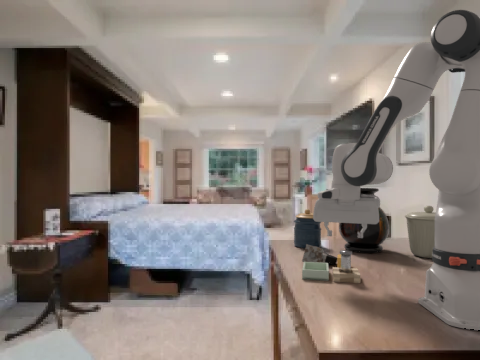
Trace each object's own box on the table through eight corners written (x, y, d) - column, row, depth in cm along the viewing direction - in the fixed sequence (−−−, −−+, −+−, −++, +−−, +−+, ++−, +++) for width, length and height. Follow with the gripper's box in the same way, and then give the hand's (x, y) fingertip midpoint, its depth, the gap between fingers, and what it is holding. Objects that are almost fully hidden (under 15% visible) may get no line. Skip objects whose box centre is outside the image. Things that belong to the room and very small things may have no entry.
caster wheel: (336, 269, 134) (331, 271, 125) (308, 260, 139) (301, 261, 130) (340, 252, 134) (336, 253, 125) (312, 243, 139) (306, 244, 130)
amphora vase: (395, 256, 146) (395, 188, 146) (341, 254, 149) (342, 188, 149) (382, 246, 167) (382, 187, 167) (336, 244, 171) (336, 187, 171)
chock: (349, 269, 124) (349, 258, 124) (337, 268, 125) (337, 257, 125) (348, 265, 130) (348, 255, 130) (337, 265, 131) (337, 254, 131)
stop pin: (352, 280, 110) (352, 252, 110) (340, 280, 111) (340, 252, 111) (351, 277, 114) (351, 250, 113) (339, 276, 114) (339, 249, 114)
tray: (328, 280, 110) (328, 271, 110) (302, 279, 112) (302, 269, 112) (327, 271, 121) (328, 263, 121) (303, 270, 123) (303, 261, 123)
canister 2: (455, 255, 148) (455, 205, 148) (452, 263, 133) (452, 208, 133) (408, 250, 158) (408, 203, 158) (401, 257, 144) (401, 205, 144)
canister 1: (291, 247, 164) (291, 209, 164) (295, 242, 176) (295, 207, 176) (320, 249, 160) (320, 210, 160) (322, 244, 172) (322, 208, 172)
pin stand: (360, 283, 107) (360, 275, 107) (333, 281, 109) (333, 273, 109) (357, 276, 115) (357, 268, 115) (332, 274, 117) (332, 267, 117)
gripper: (378, 194, 113) (377, 236, 113) (313, 192, 117) (313, 233, 118) (382, 195, 107) (381, 240, 107) (313, 193, 111) (312, 236, 112)
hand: (344, 236), depth 112 cm, fingers open, 8 cm apart
